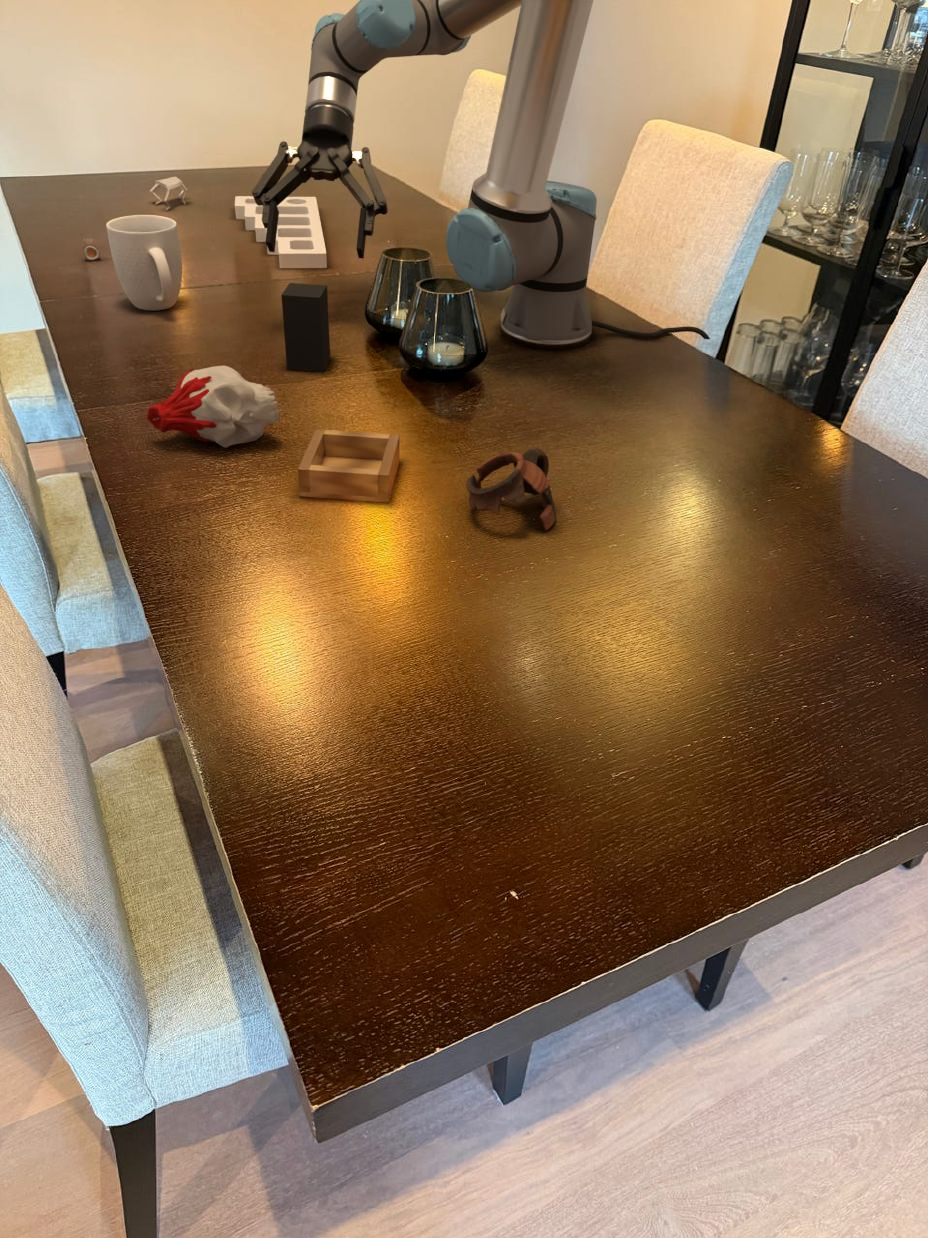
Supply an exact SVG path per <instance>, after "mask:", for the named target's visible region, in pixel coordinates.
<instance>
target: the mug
mask: <svg viewBox="0 0 928 1238" xmlns="http://www.w3.org/2000/svg"><path fill="white" fill-rule="evenodd" d="M105 227H106V233H107V238H108V239H107V240H108V243H109V249H110V254H111V259H112V262H113V267H114V270H115V273H116V276H117V280H118V281H119V284H120V285H121V288H122V290H123V292H124V294H125V296H126V297H127V298H128V300H129V301H130V303H131V304H132V305H133V306H134V307H135V308H137V309H139V310H143V311H150V312H151V311H152V312H153V311H163V310H167V309H170V308H172V307H174V306H175V304H176V303H177V301H178V299H179V297H180V293H181V289H182V282H183V279H182V278H183V258H182V257H183V256H182V250H181V241H180V236H179V230H178V229H179V228H178V223H177V221H176V220H174V219H173V218H170V217H166V216H162V215H155V214H134V215H125V216H120V217H116V218H112V219H111V220H109V221H107V222H106V225H105Z"/></svg>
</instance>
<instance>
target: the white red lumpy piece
mask: <svg viewBox="0 0 928 1238" xmlns="http://www.w3.org/2000/svg"><path fill="white" fill-rule="evenodd" d="M276 399H277V397H276V395H275V390H272V389H271V388H270V387H266V386H265V385H263V384H261V383H255V382H250V381H248V380H246V379H245V378H244V377H243V376H241V374H240V373H239V372H238V371H237V370H236V369H234V368H232V367H230V366H228V365H216V366H215V365H214V366H210V367H205V368H201V369H194V368H193V367H192V368H191V369H190V370H188V371H187V372H184V374H183V375H182V376H181V377H180V379H179V381H178V382H177V386H176V389H175V390H174V391H173V392H172V394H171V395H170V396H169V397H168V398H167V399H165V400H164V401H162V402H161V401H160V402H159V403H156V404H153V405H151V406H149V407H148V408H147V414H146V418H147V420H148V421H149V422H150V424H151V425H152V426H153V427H154V428H155V429H157V430H159V431H160V432H161V433H167V432H169V431H179V432H181V433H183V434H186V435H188V436H192V437H193V438H195V439H197V440H198V441H202V442H211V443H212V442H215V443H217V445H219V446H221V447H222V448H225V449H226V448H229V447H231V446H233V445H238V444H246V443H247V444H248V443H251V442H255V441H257V440H258V439H260V438H261V437H262V436H263V435H264V433H265V431H264V429H265V428H266V427H267V426H270V425H273V424H274V423H276V422H278V421H279V420H280V419H281V418H280V414H281V411H280V409H279V408H277V407H279V402H278V401H277V400H276Z"/></svg>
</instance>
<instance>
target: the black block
mask: <svg viewBox="0 0 928 1238" xmlns="http://www.w3.org/2000/svg"><path fill="white" fill-rule="evenodd" d="M280 296H281V297H280V298H281V308H282V321H283V334H284V335H283V336H284V348H285V359H286V360H285V362H286V370H287V371H288V370H289V371H303V372H317V373H324V372H325V369H326V368H327V366H328V364H329V361H330V359H331V344H330V343H331V342H330V323H329V322H330V321H329V299H328V298H329V297H328V285H326V284H313V283H298V282H297V283H296V282H289V283H288V285H287V286H286V288H285V289H284V290H283V292H282V293H281V295H280Z"/></svg>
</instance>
